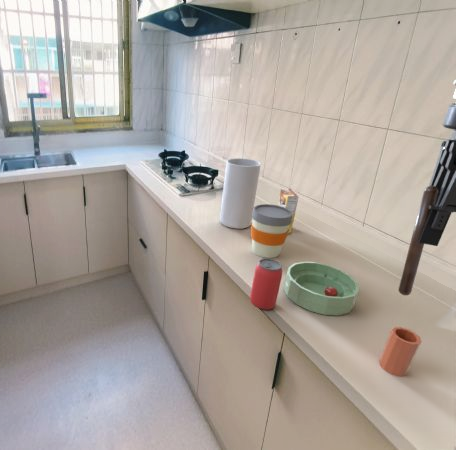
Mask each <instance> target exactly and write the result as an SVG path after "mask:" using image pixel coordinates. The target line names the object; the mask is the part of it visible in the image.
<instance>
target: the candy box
mask: <svg viewBox="0 0 456 450" xmlns="http://www.w3.org/2000/svg"><path fill="white" fill-rule="evenodd" d="M298 201H299V195H297V194H296V193H295V192H294V191H293V190H292V188H280V193H279V197H278V205H277V206H281V207H284V208H287V209H289V210H290V211H291V212H292V222H291V224H290V225H289V232H288V234H292V231H293V226H294V220H295V215H296V212H297V206H298Z"/></svg>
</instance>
